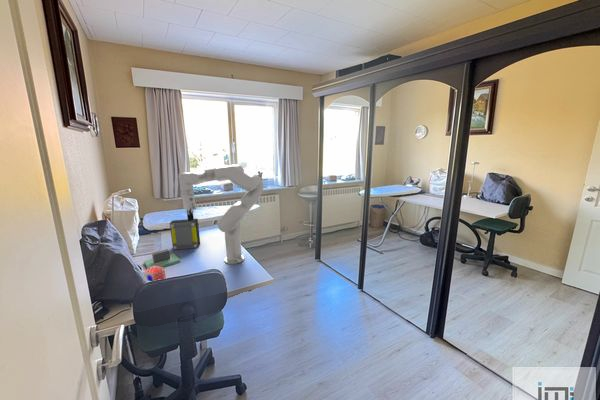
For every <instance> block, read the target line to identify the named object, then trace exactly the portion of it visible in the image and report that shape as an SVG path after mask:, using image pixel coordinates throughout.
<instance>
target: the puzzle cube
mask: <svg viewBox="0 0 600 400" xmlns="http://www.w3.org/2000/svg"><path fill="white" fill-rule="evenodd" d="M142 274H143V275H144V277H145V278H146V280H147V281H154V280H158V279H164V278H166V279H167V277H166V269H165V267H160V266H155V265H154V266H152V267H150V268H146V269H144V270H142V271H141V275H142Z"/></svg>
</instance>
